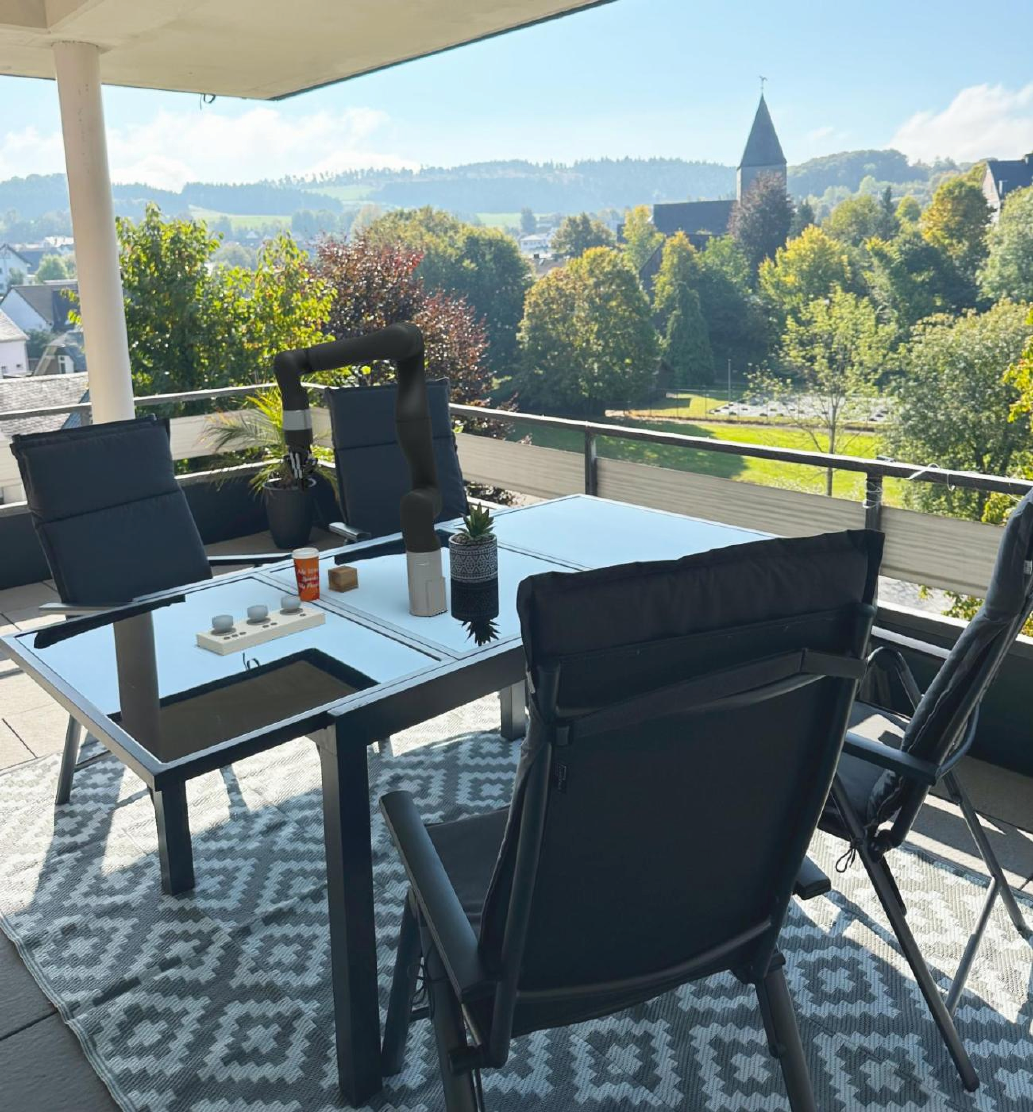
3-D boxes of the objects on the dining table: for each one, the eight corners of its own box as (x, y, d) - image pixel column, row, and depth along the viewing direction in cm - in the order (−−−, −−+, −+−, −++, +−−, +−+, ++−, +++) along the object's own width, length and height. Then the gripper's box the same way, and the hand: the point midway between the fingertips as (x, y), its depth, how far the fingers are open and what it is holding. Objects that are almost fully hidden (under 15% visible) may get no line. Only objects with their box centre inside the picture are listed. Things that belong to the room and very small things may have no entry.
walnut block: (358, 588, 291) (356, 568, 290) (342, 593, 287) (340, 573, 285) (345, 584, 295) (344, 565, 294) (329, 589, 291) (327, 569, 289)
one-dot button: (304, 605, 261) (303, 598, 260) (288, 610, 257) (287, 602, 257) (293, 602, 264) (292, 594, 263) (277, 606, 260) (276, 599, 260)
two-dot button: (272, 615, 254) (271, 607, 253) (255, 620, 250) (254, 612, 250) (260, 611, 257) (260, 604, 256) (243, 616, 253) (243, 608, 253)
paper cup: (300, 604, 278) (295, 555, 274) (292, 597, 284) (288, 549, 281) (327, 599, 281) (323, 551, 277) (319, 592, 288) (315, 545, 284)
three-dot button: (237, 625, 247) (236, 617, 246) (219, 630, 243) (218, 622, 243) (226, 621, 250) (225, 613, 249) (208, 626, 246) (207, 618, 246)
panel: (325, 623, 260) (324, 611, 259) (223, 655, 239) (222, 642, 238) (298, 614, 268) (297, 603, 267) (197, 645, 247) (195, 632, 246)
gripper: (324, 426, 262) (330, 491, 267) (294, 423, 271) (300, 486, 275) (300, 430, 257) (306, 496, 261) (271, 426, 266) (277, 490, 270)
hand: (303, 491), depth 268 cm, fingers closed
